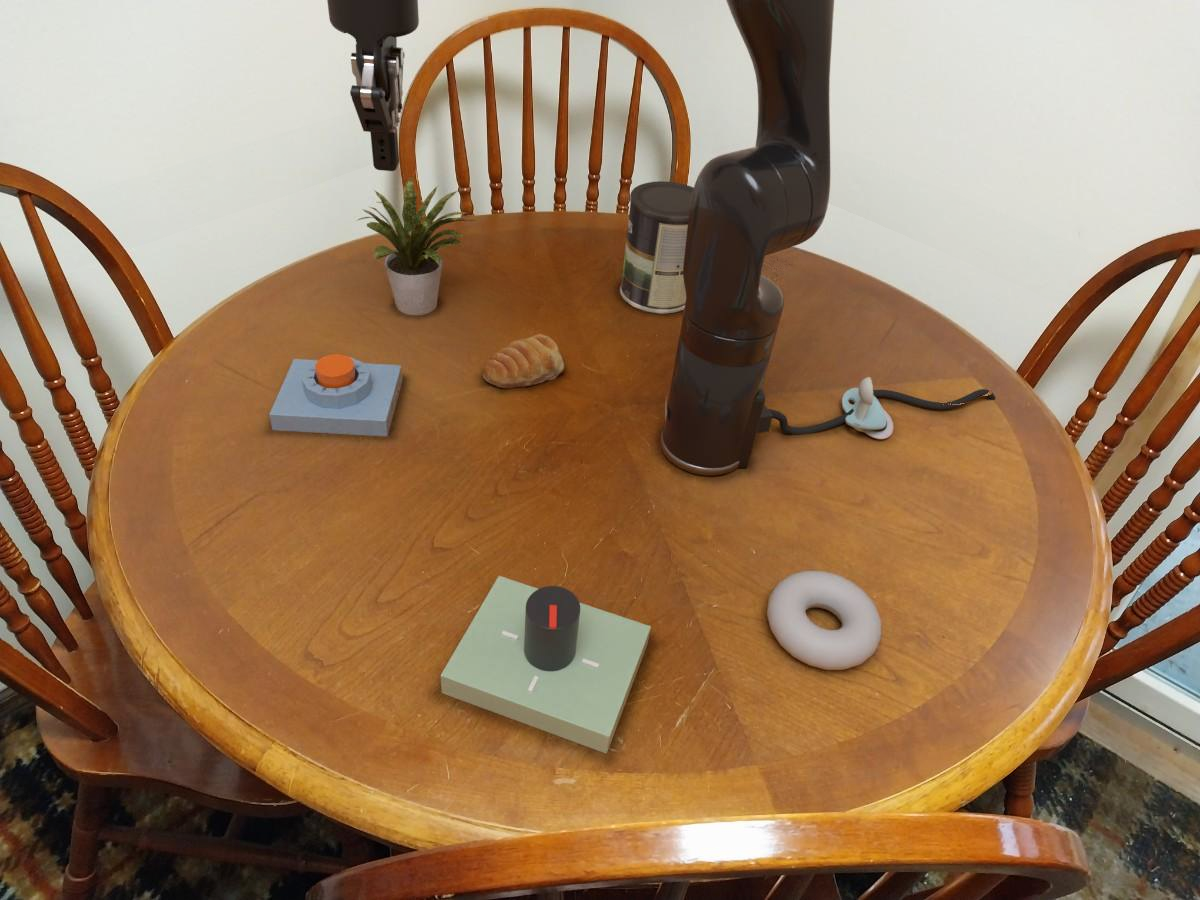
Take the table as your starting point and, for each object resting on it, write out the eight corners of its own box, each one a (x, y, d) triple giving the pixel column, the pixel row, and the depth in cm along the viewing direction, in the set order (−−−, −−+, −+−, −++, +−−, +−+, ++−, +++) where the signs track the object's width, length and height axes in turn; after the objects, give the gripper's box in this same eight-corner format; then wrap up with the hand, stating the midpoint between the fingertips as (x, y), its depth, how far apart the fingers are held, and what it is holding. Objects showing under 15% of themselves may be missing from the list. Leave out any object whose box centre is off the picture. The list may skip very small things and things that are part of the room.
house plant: (420, 354, 102) (412, 229, 91) (333, 316, 106) (315, 192, 95) (490, 304, 111) (490, 186, 101) (407, 271, 116) (399, 154, 105)
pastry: (502, 401, 96) (502, 374, 94) (470, 372, 100) (470, 345, 97) (568, 375, 101) (570, 348, 99) (535, 348, 105) (536, 321, 102)
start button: (359, 368, 93) (357, 355, 92) (351, 390, 90) (349, 377, 89) (322, 366, 92) (319, 352, 91) (313, 388, 89) (310, 374, 88)
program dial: (525, 627, 70) (527, 582, 66) (575, 629, 70) (580, 584, 66) (522, 670, 67) (524, 625, 63) (575, 672, 67) (580, 627, 63)
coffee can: (610, 303, 114) (620, 205, 105) (631, 269, 122) (643, 174, 112) (683, 321, 112) (701, 223, 103) (701, 285, 120) (718, 190, 110)
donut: (839, 700, 70) (895, 629, 76) (851, 677, 68) (907, 606, 74) (741, 630, 75) (800, 568, 81) (748, 606, 73) (809, 544, 79)
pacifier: (885, 408, 102) (836, 401, 102) (903, 366, 98) (852, 358, 98) (896, 447, 96) (844, 440, 96) (916, 405, 92) (862, 397, 92)
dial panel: (647, 643, 73) (651, 624, 71) (606, 754, 65) (609, 735, 63) (498, 593, 76) (498, 574, 74) (441, 693, 68) (440, 674, 66)
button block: (402, 380, 98) (400, 352, 95) (387, 436, 90) (384, 407, 87) (296, 374, 97) (291, 345, 94) (272, 430, 89) (265, 400, 87)
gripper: (402, -10, 66) (415, 200, 77) (426, -48, 76) (435, 144, 87) (304, -19, 65) (332, 194, 77) (341, -55, 75) (361, 138, 87)
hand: (386, 167), depth 82 cm, fingers closed
